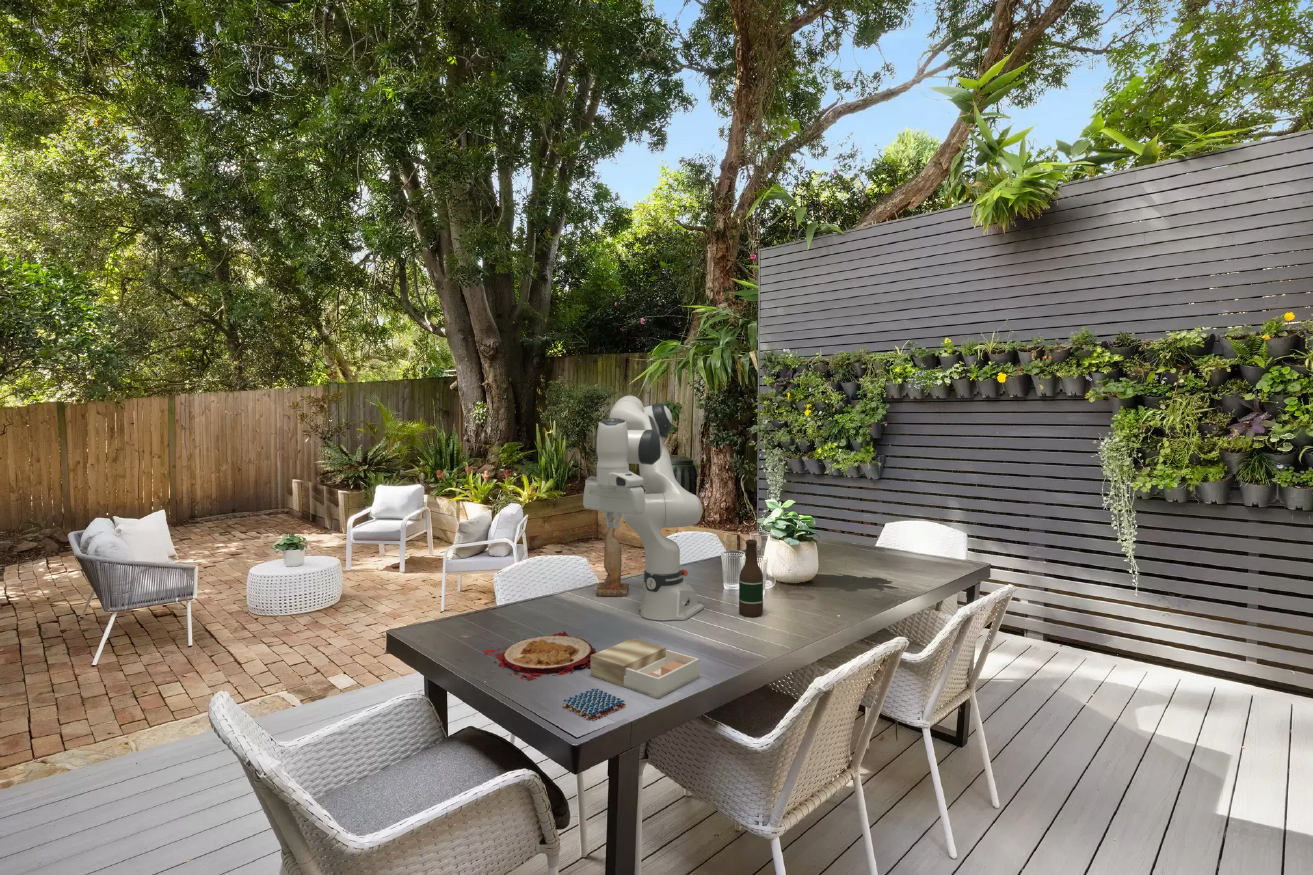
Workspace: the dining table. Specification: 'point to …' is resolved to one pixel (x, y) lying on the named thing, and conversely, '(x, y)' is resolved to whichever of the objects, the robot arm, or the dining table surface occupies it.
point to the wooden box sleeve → (624, 659)
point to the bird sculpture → (612, 567)
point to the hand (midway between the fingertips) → (613, 528)
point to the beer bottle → (751, 584)
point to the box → (666, 682)
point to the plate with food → (546, 655)
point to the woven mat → (594, 704)
